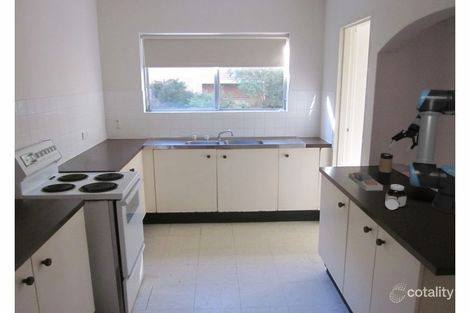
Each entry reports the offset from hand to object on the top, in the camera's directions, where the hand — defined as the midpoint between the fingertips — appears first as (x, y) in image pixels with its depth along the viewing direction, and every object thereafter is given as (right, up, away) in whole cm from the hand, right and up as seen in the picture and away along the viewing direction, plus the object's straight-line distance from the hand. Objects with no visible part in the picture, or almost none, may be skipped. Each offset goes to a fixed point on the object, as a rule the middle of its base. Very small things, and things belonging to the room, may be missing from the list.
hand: (398, 150), depth 228 cm
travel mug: (-9, -22, +1) cm, 24 cm away
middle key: (-22, -20, 0) cm, 30 cm away
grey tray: (-22, -22, 0) cm, 32 cm away
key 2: (-22, -23, -9) cm, 33 cm away
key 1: (-23, -19, +9) cm, 31 cm away
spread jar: (-21, -32, -40) cm, 56 cm away
